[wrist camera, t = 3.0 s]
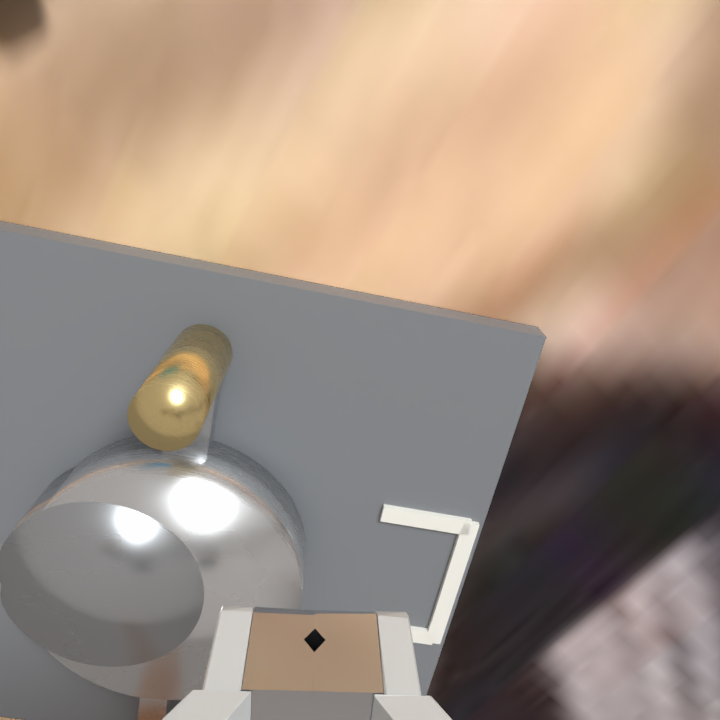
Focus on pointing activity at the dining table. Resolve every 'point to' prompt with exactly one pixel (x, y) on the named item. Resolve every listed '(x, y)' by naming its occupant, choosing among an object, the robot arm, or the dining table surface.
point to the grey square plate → (262, 423)
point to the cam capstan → (154, 540)
